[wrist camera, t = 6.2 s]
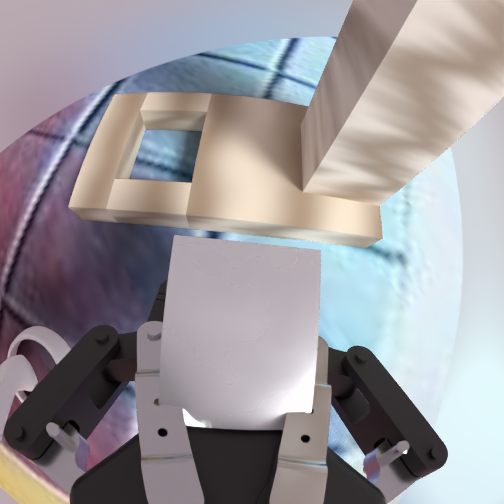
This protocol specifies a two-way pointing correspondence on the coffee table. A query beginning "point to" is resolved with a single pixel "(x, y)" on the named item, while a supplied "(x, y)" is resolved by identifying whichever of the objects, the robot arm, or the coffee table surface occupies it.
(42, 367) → the coffee table surface
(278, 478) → the robot arm
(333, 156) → the beam with square loop
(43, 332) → the white vr controller
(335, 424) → the coffee table surface
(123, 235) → the coffee table surface
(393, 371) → the coffee table surface
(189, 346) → the smooth gray rectangular block
